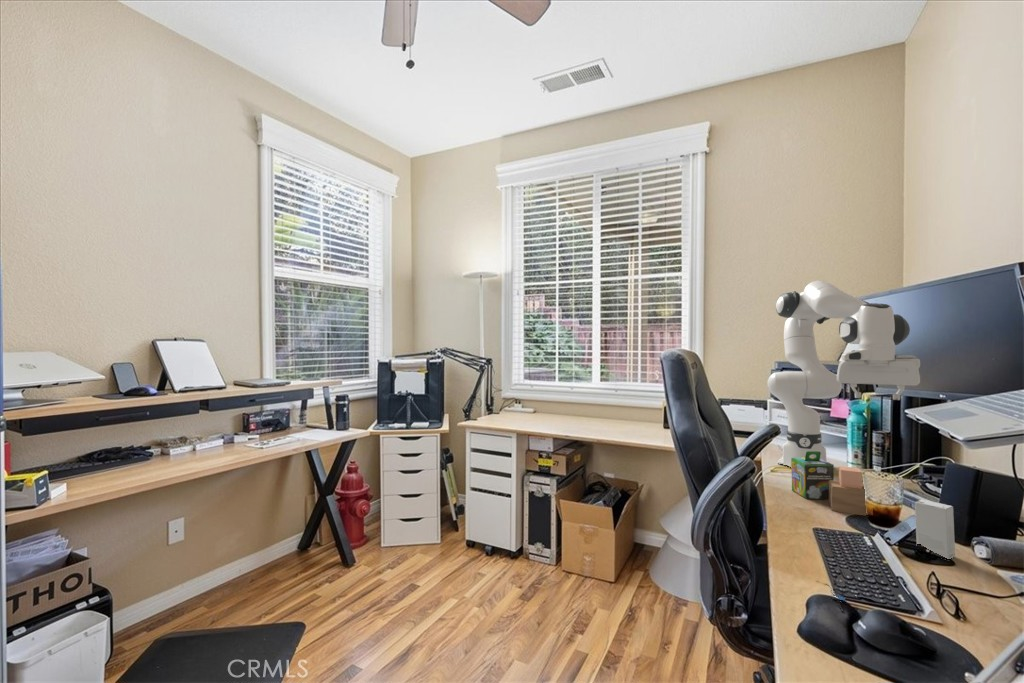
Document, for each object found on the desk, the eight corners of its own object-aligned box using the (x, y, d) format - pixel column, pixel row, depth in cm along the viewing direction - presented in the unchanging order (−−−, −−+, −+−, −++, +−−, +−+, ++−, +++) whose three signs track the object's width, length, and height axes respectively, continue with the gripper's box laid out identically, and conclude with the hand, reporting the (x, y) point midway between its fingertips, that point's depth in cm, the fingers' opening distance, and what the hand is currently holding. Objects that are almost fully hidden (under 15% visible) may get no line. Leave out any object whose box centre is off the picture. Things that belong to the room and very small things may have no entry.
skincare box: (955, 557, 106) (955, 505, 107) (948, 561, 104) (948, 509, 104) (922, 546, 112) (922, 498, 112) (914, 551, 110) (914, 501, 110)
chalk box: (818, 490, 154) (818, 447, 154) (835, 500, 145) (835, 454, 145) (790, 490, 155) (790, 447, 155) (805, 499, 146) (804, 453, 146)
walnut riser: (828, 502, 143) (828, 479, 143) (868, 508, 138) (868, 484, 138) (831, 510, 136) (831, 486, 136) (873, 516, 131) (873, 491, 131)
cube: (838, 482, 141) (838, 466, 141) (858, 484, 138) (858, 468, 138) (841, 486, 136) (841, 469, 136) (861, 489, 134) (861, 472, 134)
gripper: (917, 354, 139) (917, 399, 139) (835, 354, 149) (836, 396, 149) (923, 355, 133) (923, 402, 133) (838, 354, 143) (838, 398, 143)
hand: (876, 398), depth 141 cm, fingers open, 8 cm apart
